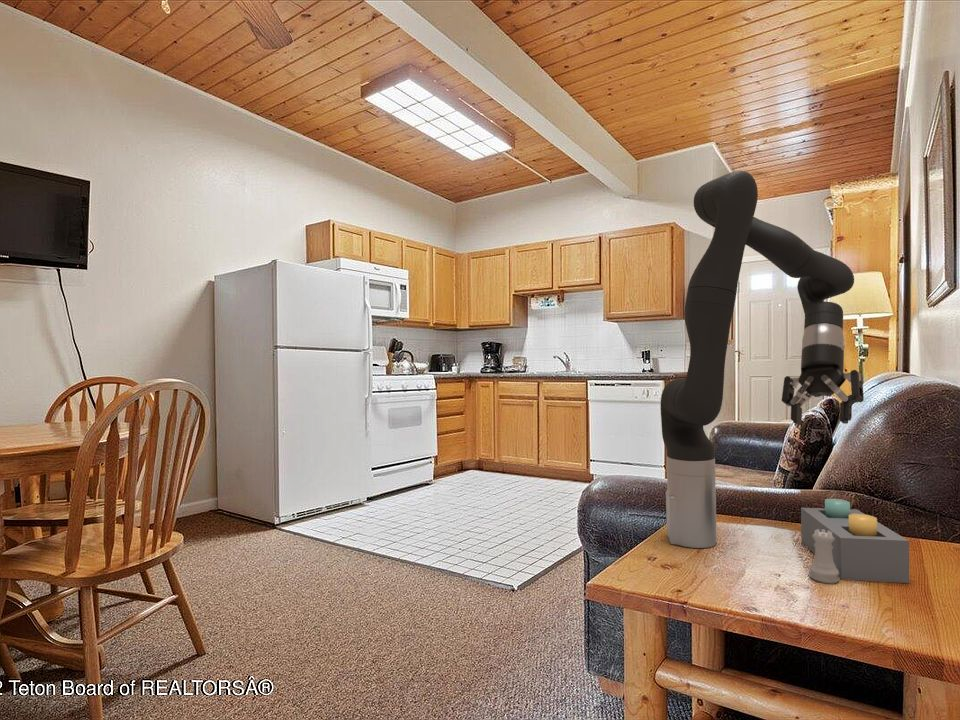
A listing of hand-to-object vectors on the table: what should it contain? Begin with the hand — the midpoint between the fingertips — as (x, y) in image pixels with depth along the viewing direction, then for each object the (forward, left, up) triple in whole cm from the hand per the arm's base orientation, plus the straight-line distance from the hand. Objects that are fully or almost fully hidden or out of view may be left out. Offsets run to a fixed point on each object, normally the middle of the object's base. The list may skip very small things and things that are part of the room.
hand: (820, 423), depth 109 cm
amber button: (+1, -15, -18) cm, 23 cm away
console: (+1, -10, -24) cm, 26 cm away
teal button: (+1, -5, -18) cm, 19 cm away
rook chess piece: (-7, -19, -24) cm, 32 cm away
